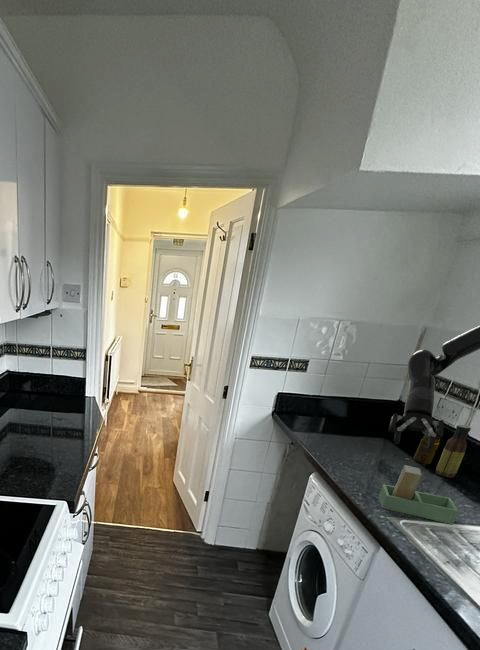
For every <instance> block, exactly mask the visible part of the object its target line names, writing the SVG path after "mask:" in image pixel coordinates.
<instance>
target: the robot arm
mask: <svg viewBox="0 0 480 650" xmlns="http://www.w3.org/2000/svg"><path fill="white" fill-rule="evenodd" d="M479 350H480V324H479V325H477V326H475V327H473V328H471V329H468V330H466V331H464V332H462V333H461V334H459V335H456V336H454V337H453V338H451V339H449V340H447V341H445V342H444V343H442V345H441V351H442V353H440V354H439V355H438V356H436V355H435V354H434V353H432V351H430V350H428V349H418V350H417V351H415V352H413V353H412V354H411V355H410V357H409V359H408V361H407V375H408V379H409V384H408V391H407V394H406V397H405V401H404V411H403V415H399V414H398V413H396V412H395V413H393V415H392V416H391V418H390V421H389V426H388V432H389V433H393V434H394V436H393V442H394V443H395V445H399V443H401V439H402V438H401V437H402V432H404V431H405V430H408V431H415V432H418V433H419V432H421V433H422V434H423V435H424V436H425V435H426V436H427V437H428V441H427V449H428V450H430V449H431V448H432V447H433V446H434V443H435V439H437V440H439V439H440V440H441V439H442V437H443V436H444V429H445V428H444V427H445V424H444V423H445V421H444V420H443V419H440V420H433V410H434V404H435V388H436V379H435V376H437V375H439V374H441V373H442V372H443V371H445V370H446V369H447V368H449V367H450V366H452V365H453V364H454V363H455V362H457V361H458V360H460V359H462V358H465V357H467V356H469V355H470V354H472V353H474V352H477V351H479ZM399 421H401V423H402V425H400V426H398V427H397V423H398V422H399ZM432 426H433V427H432ZM433 428H434V429H435V432H434V429H433Z"/></svg>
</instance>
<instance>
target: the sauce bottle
mask: <svg viewBox="0 0 480 650" xmlns="http://www.w3.org/2000/svg"><path fill="white" fill-rule="evenodd" d="M455 428H456V429H455V432H454V434H453V436H452V437H451V438H448V440H446V441H447V442H446V444H445V446H444V448H443V451H442V453H441V455H440V458H439V461H438V463H437V465H436V468H435V474H437V475H439V476H441V477H444V478H449V479H452V478H454V477H455V476H456V474H457V473H458V470H459V468H460V466H461V464H462V461H463V458H464V457H465V453H466V450H467V448H468V443H467V438H468V435H469V433H470V431H471V430H472V427H471V426H469V425H465V424H457V425H456V426H455Z"/></svg>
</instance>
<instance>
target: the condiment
mask: <svg viewBox="0 0 480 650" xmlns="http://www.w3.org/2000/svg"><path fill="white" fill-rule="evenodd" d="M427 441H428V437H427V436H426V435H424V436H423V437H422V438H421V440H420V442H419V444H418V447H417V449H416V451H415V453H414V455H413V457H406V458H405V460H408V461H410V460H412V459H413V461H414V462H416V463H419V464H422V465H430V464H431V463H432V461H433V459H434V457H435V454H436V453H437V450H438V448H439V446H440V441H441V438H440V439H439V440H437V439H435V443H434V446H433V447H432V448H431V449H430V450H428V449H427Z"/></svg>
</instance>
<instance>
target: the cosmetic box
mask: <svg viewBox="0 0 480 650" xmlns="http://www.w3.org/2000/svg"><path fill="white" fill-rule="evenodd" d="M421 479H422V471H421V468H420V467H415V466H411V465H406V464H404V465H403V467H402V470H401V472H400V475H399V477H398V479H397V481H396V484H395V485H394V487H395V488H394V490H393V493H392V495H391V496H395V497H400V498H404V499H409V500H411V498H412V496H413V494H414V491H416V489H417V487H418V485H419V483H420V480H421Z"/></svg>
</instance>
